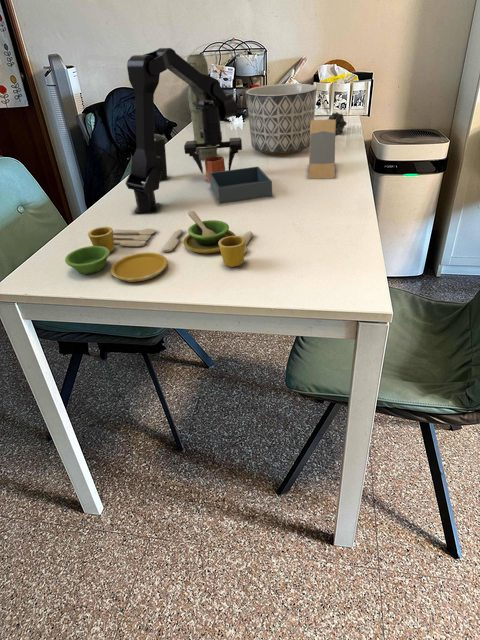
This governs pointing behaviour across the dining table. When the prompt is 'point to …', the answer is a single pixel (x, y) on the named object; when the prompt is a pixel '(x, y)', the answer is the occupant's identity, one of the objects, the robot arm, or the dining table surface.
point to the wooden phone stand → (322, 149)
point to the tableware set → (149, 265)
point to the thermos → (200, 65)
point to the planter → (281, 117)
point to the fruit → (338, 122)
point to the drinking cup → (161, 153)
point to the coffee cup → (214, 165)
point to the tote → (240, 185)
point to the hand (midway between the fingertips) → (215, 172)
